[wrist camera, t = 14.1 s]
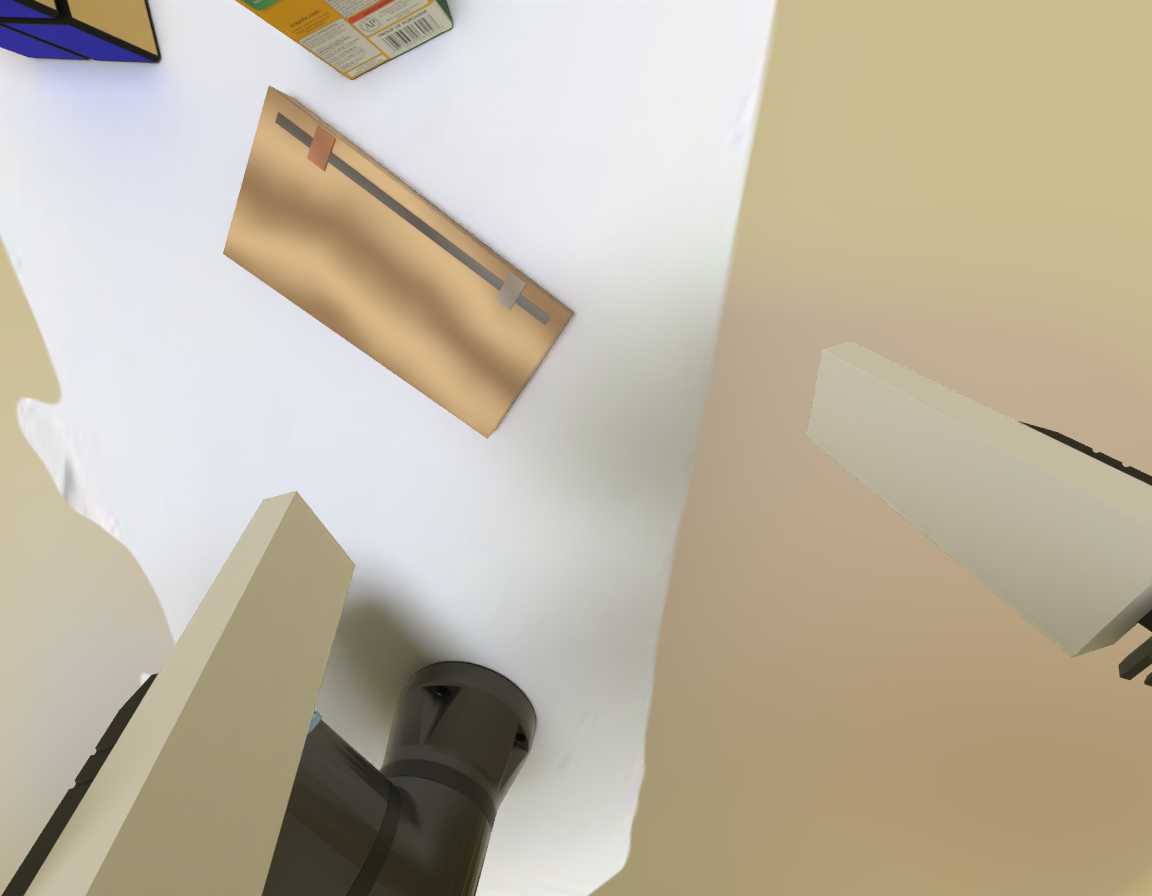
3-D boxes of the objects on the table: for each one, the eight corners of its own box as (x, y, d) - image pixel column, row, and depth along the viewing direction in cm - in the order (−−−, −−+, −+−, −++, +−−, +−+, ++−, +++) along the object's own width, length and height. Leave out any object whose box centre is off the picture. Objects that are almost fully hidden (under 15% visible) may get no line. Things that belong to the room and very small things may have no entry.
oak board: (494, 430, 33) (486, 438, 31) (245, 254, 31) (221, 253, 29) (574, 312, 29) (569, 315, 27) (292, 97, 26) (267, 84, 25)
